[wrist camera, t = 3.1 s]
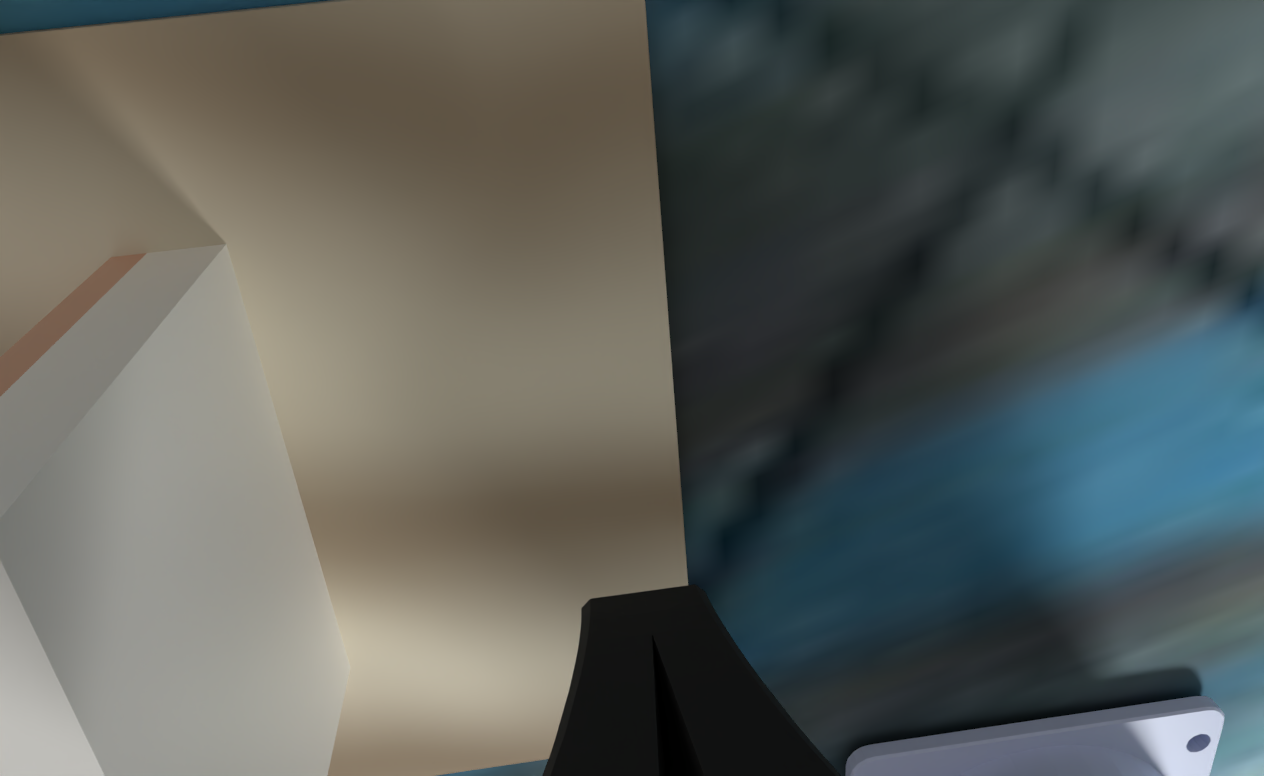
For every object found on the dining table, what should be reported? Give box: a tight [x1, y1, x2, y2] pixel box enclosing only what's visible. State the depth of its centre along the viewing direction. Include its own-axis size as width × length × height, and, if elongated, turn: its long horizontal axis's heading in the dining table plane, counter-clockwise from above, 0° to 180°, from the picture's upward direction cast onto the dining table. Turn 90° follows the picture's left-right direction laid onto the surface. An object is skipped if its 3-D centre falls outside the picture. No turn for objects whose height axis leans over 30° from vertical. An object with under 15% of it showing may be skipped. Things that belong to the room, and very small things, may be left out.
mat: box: [0, 0, 688, 776], centre depth 16 cm, size 14×18×1 cm
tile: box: [0, 244, 350, 776], centre depth 12 cm, size 8×2×7 cm, turn 5°
